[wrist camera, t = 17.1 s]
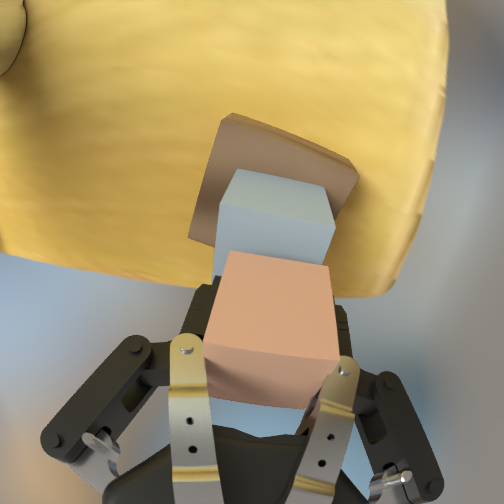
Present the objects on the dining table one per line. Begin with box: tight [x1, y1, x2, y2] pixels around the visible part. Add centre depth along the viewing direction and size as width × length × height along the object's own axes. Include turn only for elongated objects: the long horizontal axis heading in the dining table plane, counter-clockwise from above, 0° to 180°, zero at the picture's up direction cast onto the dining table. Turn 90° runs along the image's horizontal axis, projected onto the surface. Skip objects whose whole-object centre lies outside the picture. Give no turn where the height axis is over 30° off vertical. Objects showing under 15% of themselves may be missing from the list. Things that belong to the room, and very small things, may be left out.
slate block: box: [212, 169, 336, 283], centre depth 16 cm, size 6×6×5 cm
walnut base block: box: [188, 113, 360, 247], centre depth 19 cm, size 9×9×4 cm
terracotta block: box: [203, 250, 340, 409], centre depth 12 cm, size 4×4×5 cm
